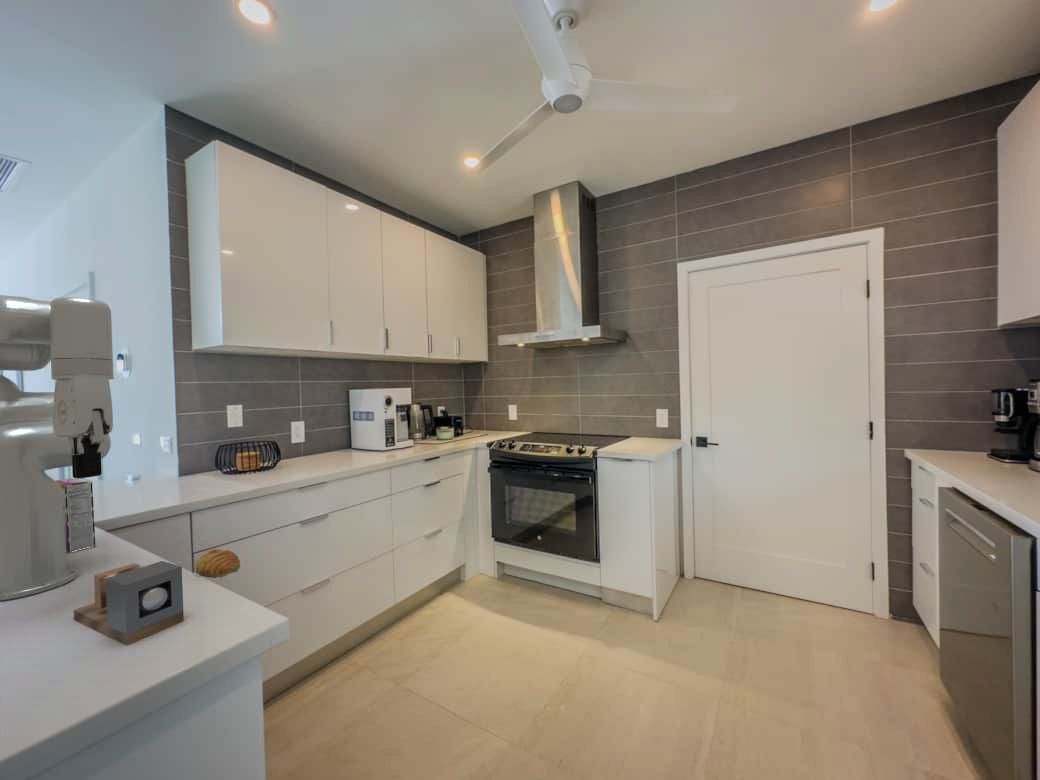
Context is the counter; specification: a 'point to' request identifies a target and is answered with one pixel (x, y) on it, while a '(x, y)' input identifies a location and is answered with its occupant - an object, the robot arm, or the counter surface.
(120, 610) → the shaft frame
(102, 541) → the counter surface
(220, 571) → the pastry
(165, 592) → the shaft
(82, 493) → the candy bar box
